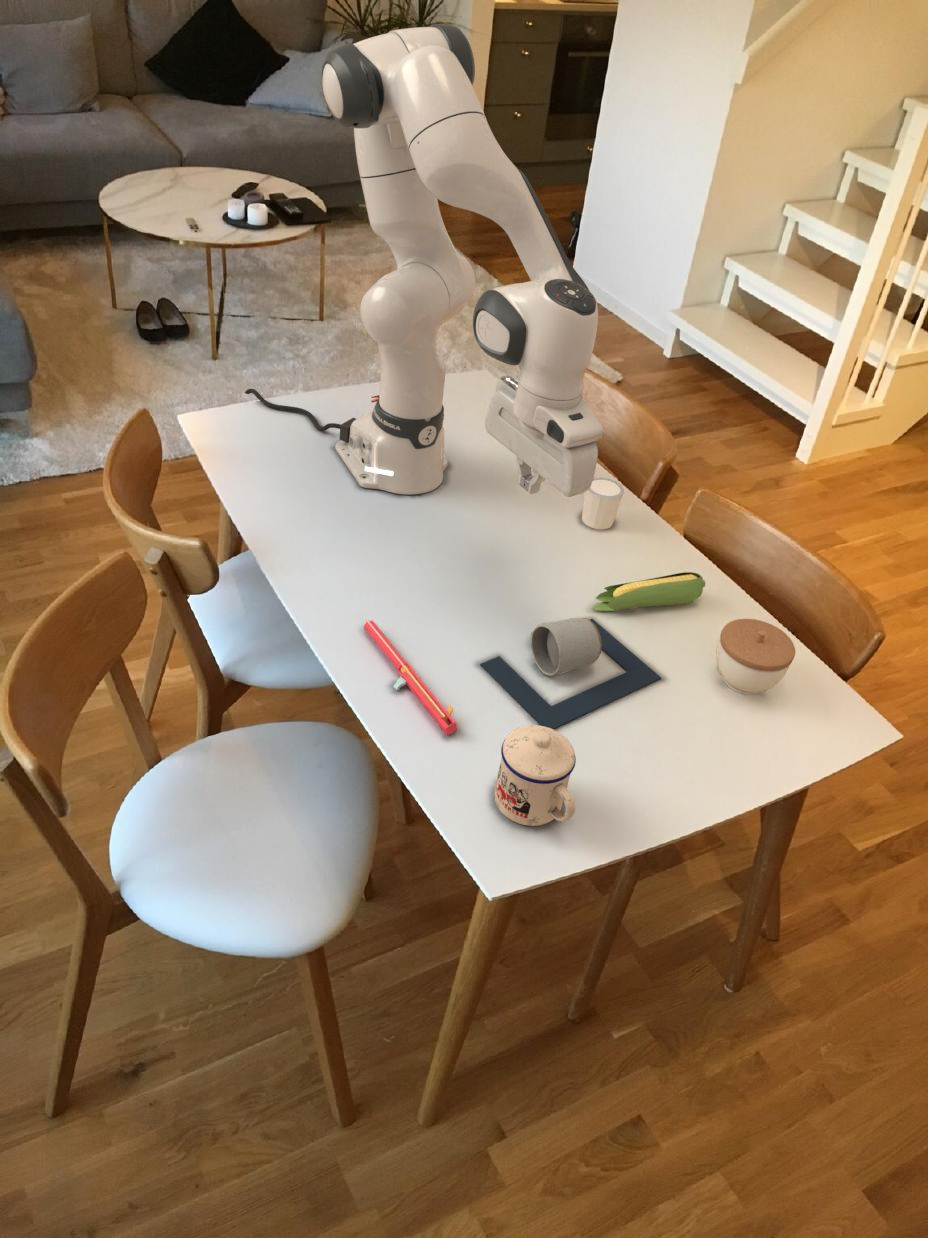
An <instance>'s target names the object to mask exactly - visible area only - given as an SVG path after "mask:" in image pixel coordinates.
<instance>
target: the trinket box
mask: <svg viewBox="0 0 928 1238" xmlns="http://www.w3.org/2000/svg"><path fill="white" fill-rule="evenodd" d="M720 632H721V633H720V636H719V640H718V644H717V648H716V655H715V660H716V662H715V663H716V668H717V671H718V673H719V675H720V676H721V678H722V679H723V681H724V683H725V684H726V686H728V687H729V689H731V690H732V691H734V692H736V693H738V694H742V695H748V696H749V695H751V696H752V695H758V694H760V693H764V692H767V691H769V690H771V689H772V688H774V687H776V686H777V685H778V684H779V683H780V682H781V680H782V679H783V678H784V677H785V675H786V674H787V672H788V670H789V668H790V666H791V664H792V663H793V661H794V659H795V656H796V647H795V644H794V642H793V640H792V639H791V638H790V637H789V636H788V634H787V633H786V632H784V631H783V630H782V629H780V628H779V627H777V626H775V625H773V624H771V623H769V622H767V621H764V620H759V619H755V618H738V619H734V620H731V621H729V622H727V623H726V624H725V625H724V626H723V628H722V630H721V631H720Z"/></svg>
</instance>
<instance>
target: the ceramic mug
mask: <svg viewBox="0 0 928 1238" xmlns="http://www.w3.org/2000/svg"><path fill="white" fill-rule="evenodd" d="M530 647H531V653H532V657H533V660H534V662H535V664H536V666H537V668H538V669H539V670H540V671H541V672H542V673H543V674H544V675H546V676H549V677H554V676H557V675H560V674H563V673H567V672H570V671H574V670H578V669H581V668H584V667H587V666H590V665H592V664H593V663H596V661H598V659H600V656H601V653H602V650H601V648H602V642H601V636H600V634H599V631H598V629H597V627H596V626H595V624H594V623H593V622H592V621H590V619H589V618H586V617H571V618H567V619H562V620H556V621H550V622H543V623H540V624H537V625H536V626H535V627H534V629H533V630H532V631H531V633H530Z"/></svg>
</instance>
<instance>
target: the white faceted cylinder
mask: <svg viewBox="0 0 928 1238" xmlns="http://www.w3.org/2000/svg"><path fill="white" fill-rule="evenodd" d="M624 495H625V488H624V487H623V486H622V484H621V483H619V482H617V481H616V480H613V479H611V478H607V477H593V481H592V484H591V487H590V488H589V490H587V491H586V492H584V497H583V505H582V514H581V521H582V522H583V524H584V525H586V526H587V527H589V528H592V529H595V530H607V529H609V528H611V527H612V526H613V524H614V521H615V519H616V516H617V513H618V510H619V508H620V505H621V502H622V500H623V497H624Z"/></svg>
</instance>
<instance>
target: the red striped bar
mask: <svg viewBox="0 0 928 1238" xmlns="http://www.w3.org/2000/svg"><path fill="white" fill-rule="evenodd" d="M365 621H366V622H365V623H364V627H363V628H364V630H365V631H366V632H367V634H368V635H369V636H370V637H371V639H372V640H373V642H375V644H376V645H377V647H379V649H380V650H381V651H382V652H383V654H384V655H385V656H386V658H387V659H388V660H389V661H390V663H391V664H392V665H393V666H394V668H395V669H396V672H397V673H398V674H399V678H397V681H396V682H395V683H394V684H393V689H394V690H395V691H397V692H398V691H399V690H400V688H402V687H403V686H407V687H408V689H409V690H410V691H411V692H412V693H413V695H414V696H415V698H416V699H417V700H418V701H419V702H420V704H421V705H422V706H423V707H424V708H425V710H426V711H427V712H428V713H429V715H430V716H431V718H433V720H434V721H435V723H437V725H438V727H440V729H441V730H442V731H443V732H444V734H445V735H446V736H447V737H449V736H450V735H451V734H453V733H454V732H456V731H457V730H458V726H457V722H456V720H454V718H453V717H452V716H451V715H452V713H453V705H452V704H449V708H447V709H446V708H445V707H444V706H443V705H442V704H441V702H440V701H439V700H438V698H437V697H436V696H435V695H434V693H433V692H431V689H429V687H428V686H427V685H426V684H425V682H424V681H423V680H422V679H421V678H420V677H419V676H418V674H417V673H416V671H415V669H414V668H413V667H412V666H411V665H410V663H409V662H408V661H407V660H405V659H404V658H403V656H402V655H401V654H400V653H399V651H398V650H397V649H396V648H395V646H394V645H393V644H392V643H391V641H390V640H389V639H388V638H387V636H386V635H385V634H384V633H383V631H381V629H380V628H379V627H378V625H377V624H376V622H375V621H373V620H369V618H366V619H365ZM448 723H449V724H448Z"/></svg>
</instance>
